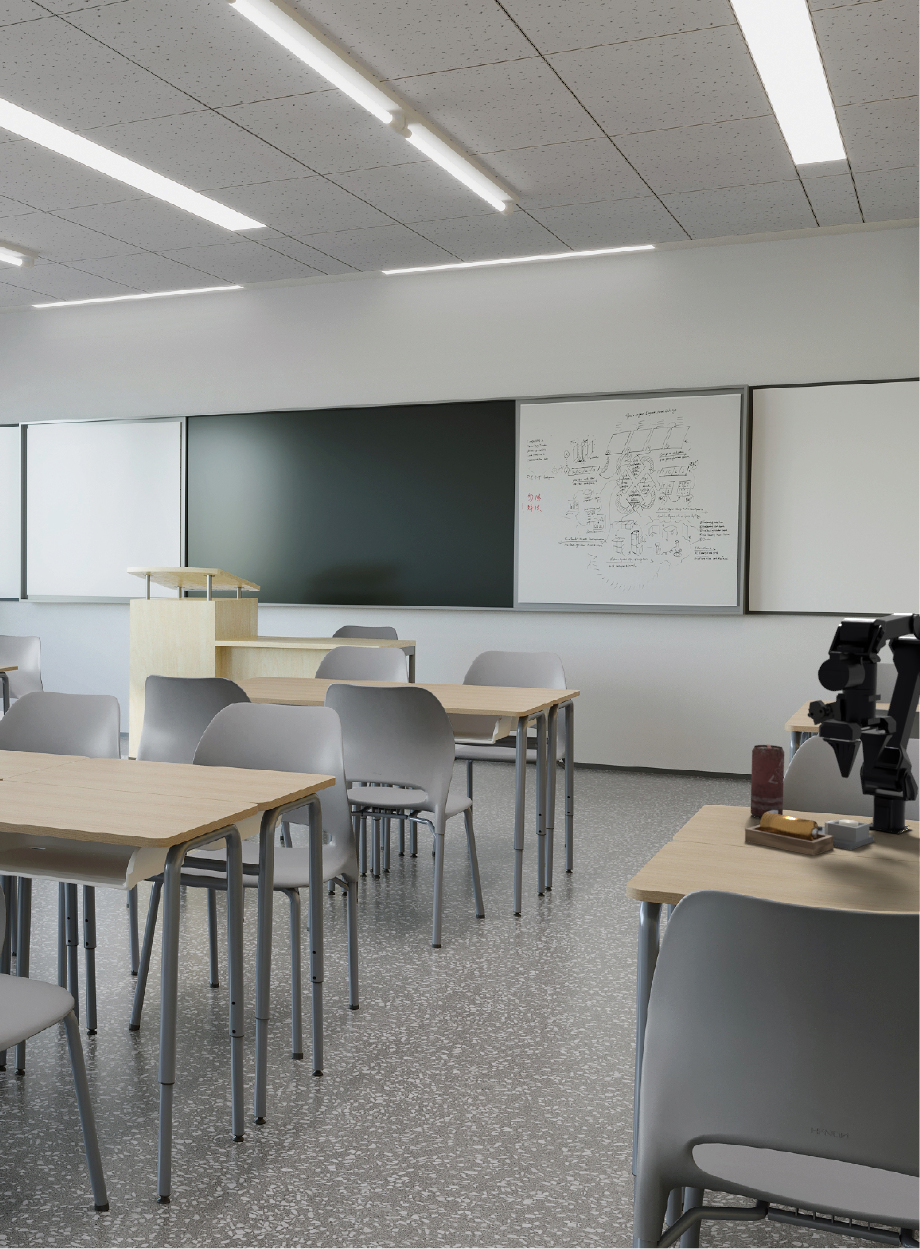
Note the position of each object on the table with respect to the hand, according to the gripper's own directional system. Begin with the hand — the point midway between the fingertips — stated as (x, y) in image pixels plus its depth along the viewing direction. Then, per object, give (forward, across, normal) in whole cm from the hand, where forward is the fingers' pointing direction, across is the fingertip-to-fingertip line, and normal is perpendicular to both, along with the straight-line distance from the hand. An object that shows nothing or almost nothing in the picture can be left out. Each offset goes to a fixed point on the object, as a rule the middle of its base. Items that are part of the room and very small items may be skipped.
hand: (856, 774), depth 185 cm
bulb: (+10, +2, 0) cm, 10 cm away
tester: (+12, +2, -6) cm, 14 cm away
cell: (+9, +12, -6) cm, 16 cm away
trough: (+12, +12, -6) cm, 18 cm away
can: (+12, -6, -21) cm, 25 cm away
